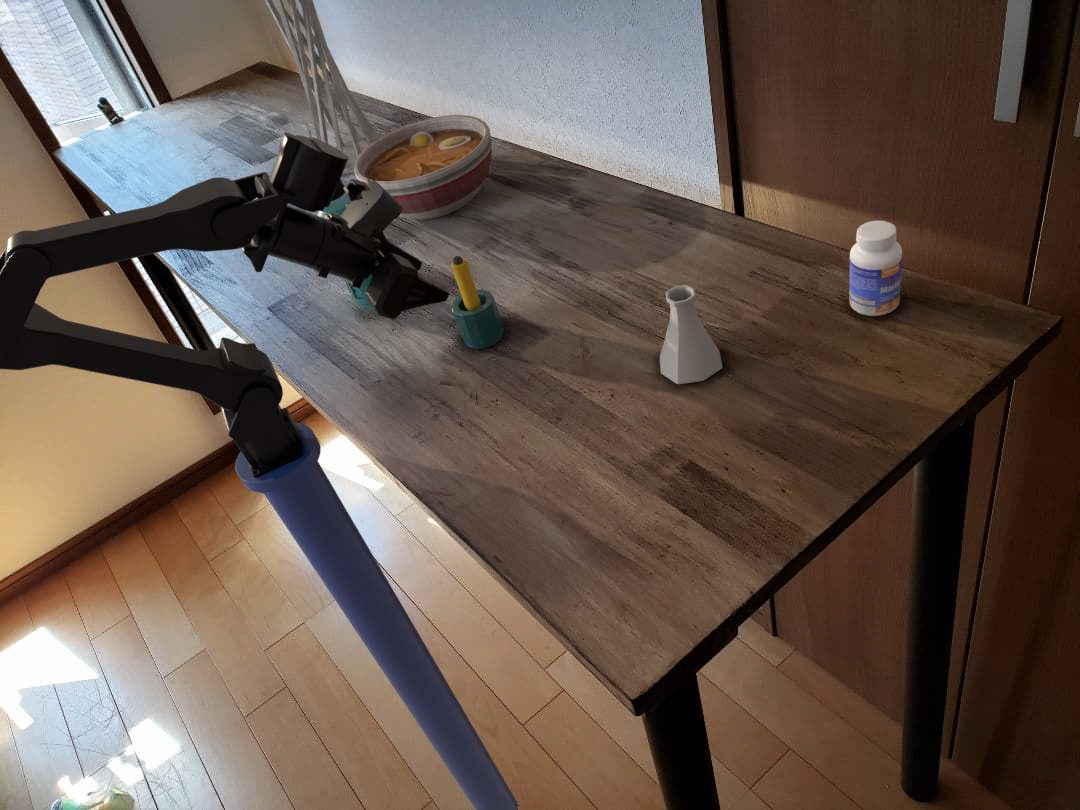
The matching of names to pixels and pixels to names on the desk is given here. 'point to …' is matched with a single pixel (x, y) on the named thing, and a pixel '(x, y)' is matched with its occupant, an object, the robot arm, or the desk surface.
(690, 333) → the flask
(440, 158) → the bowl
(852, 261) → the pill bottle
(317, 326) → the desk surface
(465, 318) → the pen pot
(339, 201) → the beverage bottle
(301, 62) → the vase
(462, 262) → the pencil
